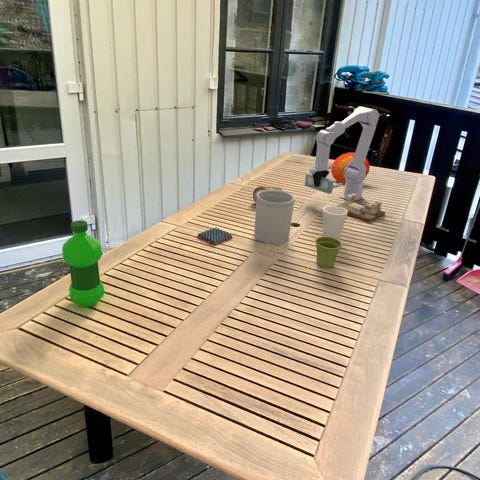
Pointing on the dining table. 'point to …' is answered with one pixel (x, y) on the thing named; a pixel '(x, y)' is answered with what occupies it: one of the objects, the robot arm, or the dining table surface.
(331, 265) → the plant pot
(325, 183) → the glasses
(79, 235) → the plastic bottle
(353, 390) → the dining table surface
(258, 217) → the utensil holder
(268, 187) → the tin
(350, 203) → the display stand
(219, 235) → the woven mat
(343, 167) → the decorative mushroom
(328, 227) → the foam cup
